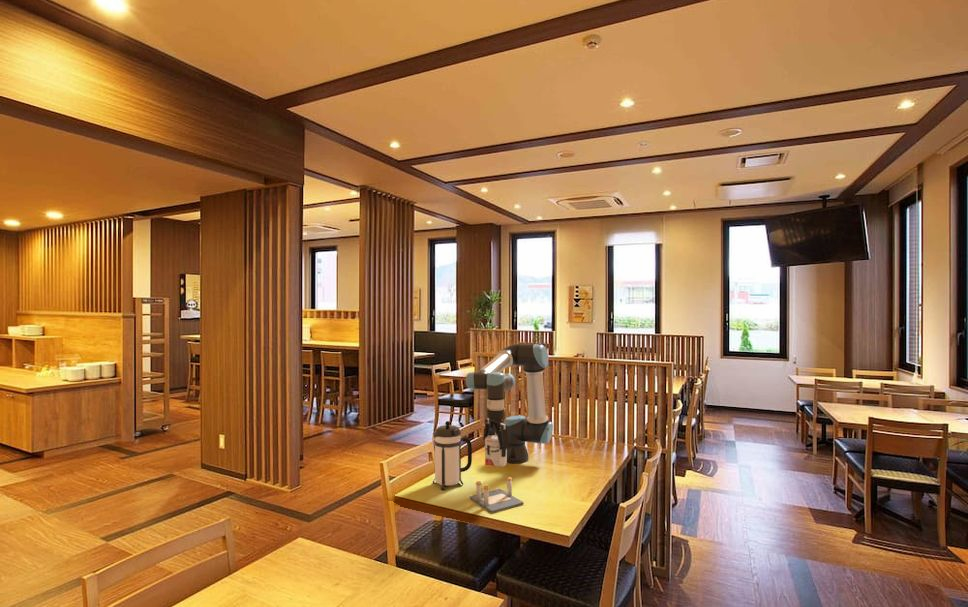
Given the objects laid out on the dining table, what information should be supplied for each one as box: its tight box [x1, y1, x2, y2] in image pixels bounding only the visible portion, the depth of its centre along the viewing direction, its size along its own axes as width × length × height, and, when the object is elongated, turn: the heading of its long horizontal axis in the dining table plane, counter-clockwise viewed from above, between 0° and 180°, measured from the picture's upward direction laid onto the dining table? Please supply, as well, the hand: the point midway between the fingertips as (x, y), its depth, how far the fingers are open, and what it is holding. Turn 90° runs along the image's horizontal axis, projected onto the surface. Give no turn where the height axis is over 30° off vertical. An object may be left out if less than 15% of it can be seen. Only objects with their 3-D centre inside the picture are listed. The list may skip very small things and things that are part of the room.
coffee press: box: [432, 420, 473, 491], centre depth 231 cm, size 17×16×30 cm
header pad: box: [469, 476, 525, 514], centre depth 210 cm, size 18×16×9 cm
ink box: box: [484, 434, 507, 468], centre depth 210 cm, size 8×5×12 cm, turn 72°
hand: (495, 460), depth 210 cm, fingers closed on ink box, 9 cm apart
